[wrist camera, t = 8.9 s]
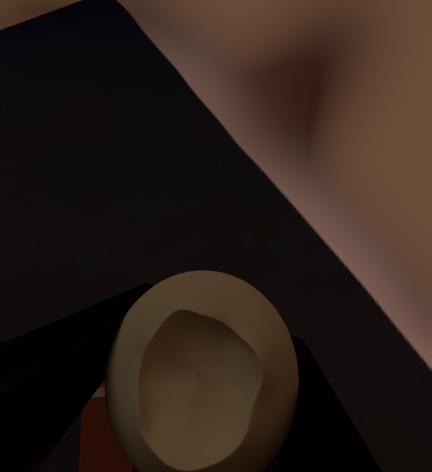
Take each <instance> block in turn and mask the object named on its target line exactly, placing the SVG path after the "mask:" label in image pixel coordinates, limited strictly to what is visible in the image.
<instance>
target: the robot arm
mask: <svg viewBox="0 0 432 472" xmlns="http://www.w3.org/2000/svg"><path fill="white" fill-rule="evenodd" d="M152 287H154V286H153V285H150V284H147V283H146V284H142V285H140V286H138V287H135V288H133V289H131V290H128V291H126V292H124V293H121V294H119V295H117V296H114V297H112V298H109V299H107V300H105V301H102V302H100V303H98V304H95V305H93V306H91V307H88V308H86V309H84V310H81V311H79V312H77V313H74V314H72V315H69V316H67V317H65V318H62V319H60V320H58V321H55V322H53V323H51V324H50V325H46V326H43V327H41V328H39V329H36V330H34V331H31V332H29V333H27V334H24V335H22V336H19V337H17V338H14V339H12V340H9V341H6V342H4V343H1V344H0V472H38V471H39V469H40V468H41V466H42V465H43V464H44V462H45V461H46V460H47V458H48V457H49V455H50V454H51V453H52V451H53V450H54V448H55V447H56V446H57V444H58V443H59V442H60V440H61V439H62V437H63V436H64V435H65V433H66V432H67V431H68V429H69V428H70V426H71V425H72V424H73V422H74V421H75V420H76V418H77V417H78V415H79V414H80V413H81V411H82V410H83V408H84V407H85V406H86V404H87V403H88V402H89V400H90V399H91V397H92V396H93V395H94V393H95V392H96V391H97V389H98V388H99V386H100V385H101V384H102V382H103V381H104V380H105V371H106V365H107V359H108V354H109V351H110V347H111V344H112V341H113V339H114V336H115V334H116V331H117V329H118V327H119V326H120V324H121V322H122V320H123V318H124V317H125V315H126V314H127V313H128V311H129V310H130V308H131V307H132V306H133V305H134V304H135V303H136V301H137V300H138V299H139V298H140V297H141V296H142V295H144V294H145V293H146V292H147V291H148V290H150V289H151V288H152ZM291 339H292V342H293V345H294V349H295V353H296V358H297V363H298V373H299V393H298V400H297V408H296V412H295V416H294V419H293V423H292V426H291V428H290V431H289V433H288V436H287V438H286V440H285V442H284V444H283V445H282V447H281V449H280V451H279V472H382V471H381V469H380V467H379V466H378V464H377V463H376V462H374V457H373V456H372V454H371V452H370V451H369V449H368V447H367V446H366V444H365V442H364V441H363V439H362V437H361V436H360V434H359V432H358V431H357V429H356V427H355V425H354V424H353V422H352V420H351V419H350V417H349V415H348V414H347V412H346V410H345V409H344V407H343V405H342V404H341V402H340V400H339V399H338V397H337V395H336V394H335V392H334V390H333V389H332V387H331V385H330V384H329V382H328V380H327V378H326V377H325V375H324V373H323V372H322V370H321V368H320V367H319V365H318V363H317V362H316V360H315V358H314V357H313V355H312V353H311V352H310V350H309V348H308V347H307V345H306V343H305V342H304V340H303V339H301V338H299V337H296V336H291Z"/></svg>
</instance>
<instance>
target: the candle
mask: <svg viewBox="0 0 432 472" xmlns="http://www.w3.org/2000/svg"><path fill="white" fill-rule="evenodd" d="M298 393H299V373H298V363H297V358H296V353H295V349H294V345H293V342H292V339H291V337H290V334H289V332H288V330H287V327H286V325H285V323H284V321H283V320H282V318H281V317H280V315H279V313H278V312H277V310H276V309H275V308H274V307H273V305H272V304H271V303H270V302H269V300H267V299H266V298H265V297H264V296H263V295H262V294H261V293H260V292H259V291H258V290H256V289H255V288H254V287H252V286H251V285H249V284H248V283H246V282H244V281H243V280H241V279H238V278H236V277H234V276H231V275H228V274H224V273H221V272H214V271H192V272H186V273H182V274H178V275H175V276H173V277H170V278H168V279H166V280H164V281H162V282H160V283H158V284H157V285H155V286H154V287H152V288H151V289H150V290H148V291H147V292H146V293H145V294H144V295H142V296H141V297H140V298H139V299H138V300H137V301H136V303H135V304H134V305H133V306H132V307H131V308H130V310H129V311H128V313H127V314H126V315H125V317H124V318H123V320H122V322H121V324H120V326H119V327H118V329H117V331H116V334H115V336H114V339H113V341H112V344H111V347H110V351H109V354H108V359H107V365H106V371H105V401H106V407H107V412H108V417H109V420H110V424H111V427H112V430H113V433H114V435H115V437H116V439H117V442H118V444H119V446H120V447H121V449H122V451H123V452H124V454H125V455H126V457H127V458H128V460H129V461H130V462H131V463H132V464H133V466H134V467H135V468H136V469H137V470H138V471H139V472H262V471H263V470H264V469H265V468H266V467H267V466H268V465H269V464H270V463H271V462H272V460H273V459H274V458H275V456H276V455H277V454H278V452H279V451H280V449H281V447H282V445H283V444H284V442H285V440H286V438H287V436H288V433H289V431H290V428H291V426H292V423H293V419H294V416H295V412H296V408H297V400H298Z"/></svg>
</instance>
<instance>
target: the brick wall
mask: <svg viewBox="0 0 432 472" xmlns="http://www.w3.org/2000/svg"><path fill="white" fill-rule="evenodd" d="M79 472H139V471H138V470H137V469H136V468H135V467H134V466H133V464H132V463H131V462H130V461H129V460H128V458H127V457H126V455H125V454H124V452H123V451H122V449H121V447H120V446H119V444H118V442H117V439H116V437H115V435H114V433H113V430H112V427H111V424H110V420H109V417H108V412H107V407H106V401H105V380H104V381H103V382H102V384H101V385H100V386H99V388H98V389H97V391H96V392H95V393H94V395H93V396H92V397H91V399H90V400H89V402H88V403H87V404H86V406H85V407H84V408H83V410H82V421H81V438H80V456H79Z"/></svg>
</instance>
